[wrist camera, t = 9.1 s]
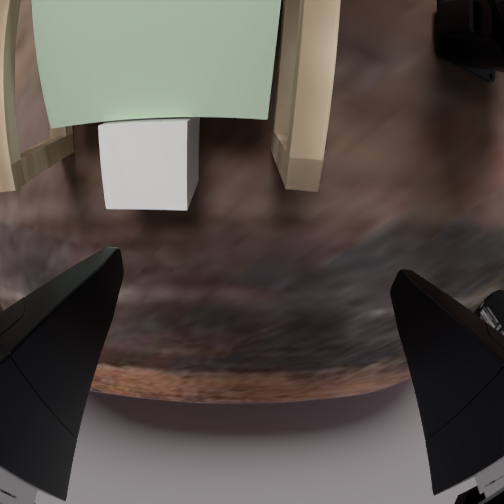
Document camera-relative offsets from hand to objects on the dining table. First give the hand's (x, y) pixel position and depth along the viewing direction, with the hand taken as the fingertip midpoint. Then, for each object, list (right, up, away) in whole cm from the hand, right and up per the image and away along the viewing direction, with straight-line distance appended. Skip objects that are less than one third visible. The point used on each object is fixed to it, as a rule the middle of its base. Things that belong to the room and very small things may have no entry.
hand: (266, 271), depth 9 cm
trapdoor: (-6, +13, +1) cm, 14 cm away
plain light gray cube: (-6, +9, +7) cm, 13 cm away
